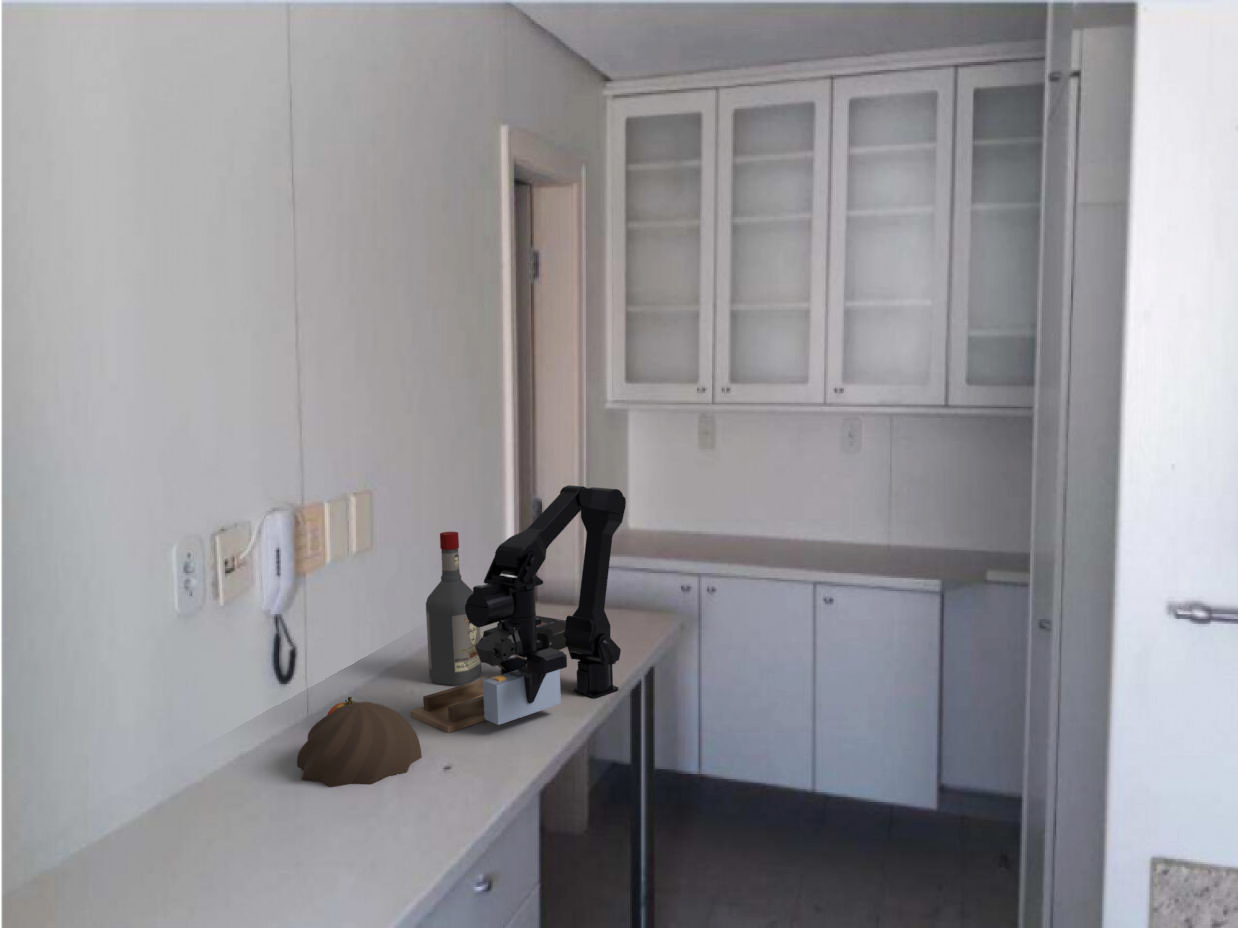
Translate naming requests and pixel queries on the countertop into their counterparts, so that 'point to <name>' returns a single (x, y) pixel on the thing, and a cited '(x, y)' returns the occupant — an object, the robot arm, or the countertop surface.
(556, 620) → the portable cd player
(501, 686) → the power strip
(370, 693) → the countertop surface
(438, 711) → the dock
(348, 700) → the tomato
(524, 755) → the countertop surface
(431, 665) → the liquor
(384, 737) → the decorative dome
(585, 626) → the robot arm
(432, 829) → the countertop surface
